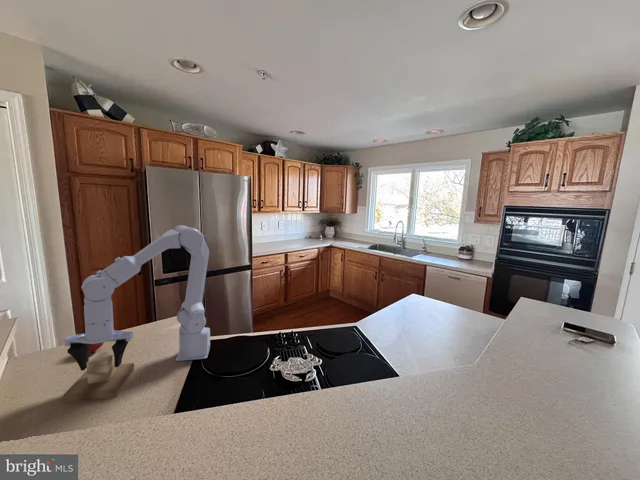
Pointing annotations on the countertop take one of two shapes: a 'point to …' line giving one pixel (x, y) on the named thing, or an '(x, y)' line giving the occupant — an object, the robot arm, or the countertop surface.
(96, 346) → the onion
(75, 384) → the walnut block
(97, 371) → the beech block
